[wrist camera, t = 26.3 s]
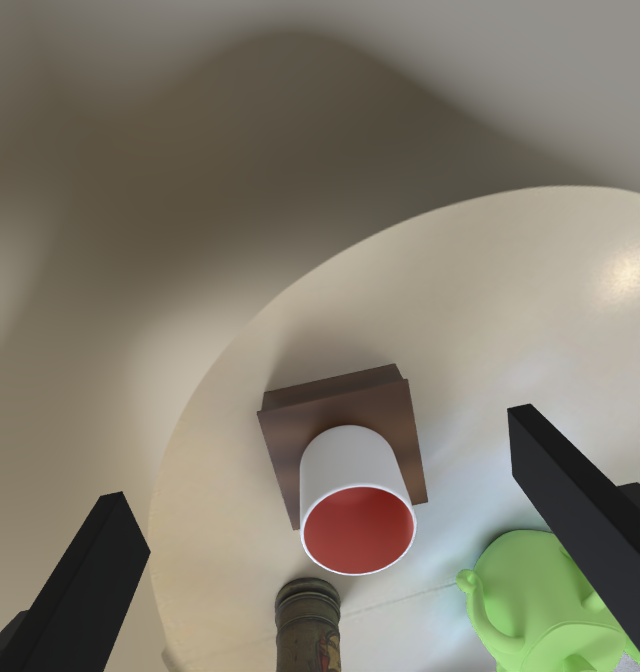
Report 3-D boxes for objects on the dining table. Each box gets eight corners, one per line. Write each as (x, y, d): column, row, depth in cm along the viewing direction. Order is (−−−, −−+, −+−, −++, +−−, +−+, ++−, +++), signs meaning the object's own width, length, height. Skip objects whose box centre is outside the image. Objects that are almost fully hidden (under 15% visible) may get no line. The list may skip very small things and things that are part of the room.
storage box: (260, 390, 48) (256, 413, 44) (397, 360, 48) (408, 380, 43) (293, 500, 54) (293, 530, 49) (416, 473, 53) (428, 502, 49)
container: (284, 630, 61) (278, 801, 44) (267, 584, 58) (254, 749, 41) (346, 616, 61) (364, 784, 44) (332, 570, 58) (345, 731, 41)
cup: (286, 436, 45) (283, 504, 35) (378, 407, 44) (400, 468, 35) (317, 509, 48) (322, 589, 39) (403, 483, 47) (429, 557, 38)
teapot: (433, 552, 58) (474, 666, 44) (575, 490, 55) (665, 590, 42) (482, 636, 64) (532, 759, 50) (613, 583, 61) (702, 698, 48)
